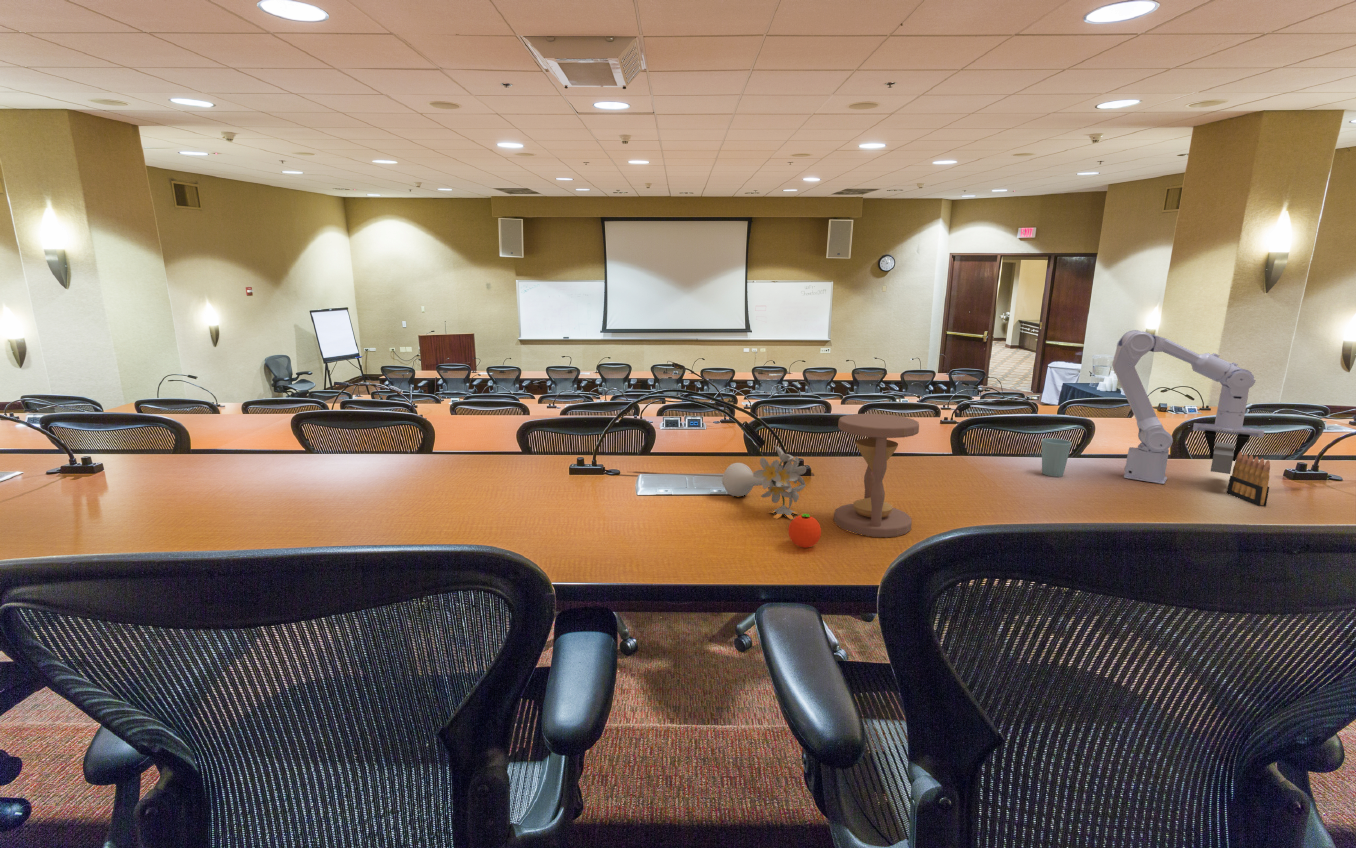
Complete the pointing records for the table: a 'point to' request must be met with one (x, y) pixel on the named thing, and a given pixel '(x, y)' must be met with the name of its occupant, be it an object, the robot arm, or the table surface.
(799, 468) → the flower vase
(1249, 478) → the ammunition clip
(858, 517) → the hourglass
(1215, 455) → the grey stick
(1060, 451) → the cup
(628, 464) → the table surface
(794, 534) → the clementine
